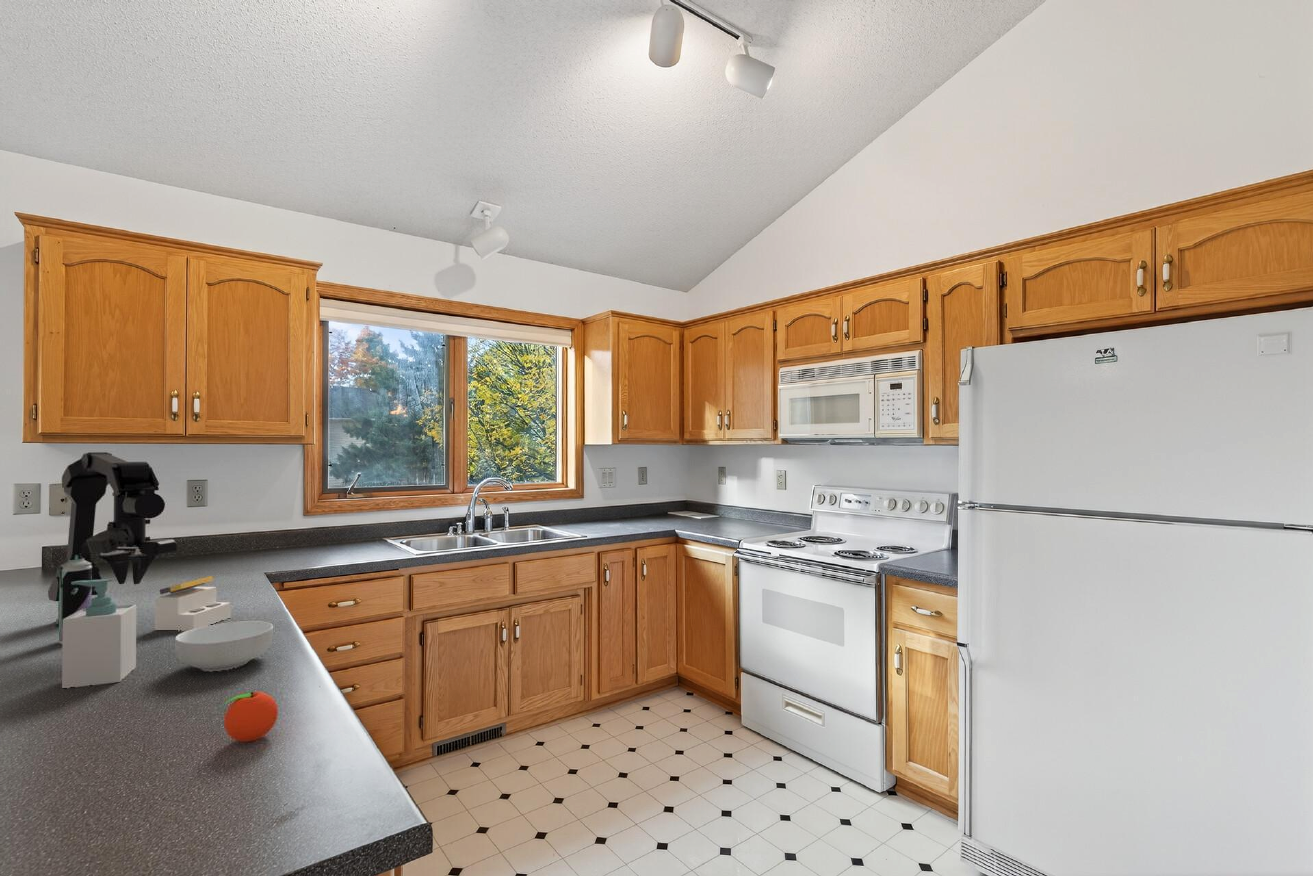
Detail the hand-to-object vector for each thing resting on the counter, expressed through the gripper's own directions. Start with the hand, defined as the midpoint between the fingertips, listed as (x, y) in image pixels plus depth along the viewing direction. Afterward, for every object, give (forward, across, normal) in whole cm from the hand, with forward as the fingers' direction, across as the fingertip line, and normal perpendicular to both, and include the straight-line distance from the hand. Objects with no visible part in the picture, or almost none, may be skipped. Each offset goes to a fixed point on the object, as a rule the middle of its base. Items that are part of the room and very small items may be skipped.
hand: (129, 584), depth 146 cm
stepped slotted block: (+13, +4, +14) cm, 20 cm away
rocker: (+4, +2, +14) cm, 15 cm away
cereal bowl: (+13, +35, -14) cm, 40 cm away
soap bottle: (+13, +16, -22) cm, 31 cm away
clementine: (+13, +63, -45) cm, 79 cm away
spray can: (+13, -12, -1) cm, 18 cm away
